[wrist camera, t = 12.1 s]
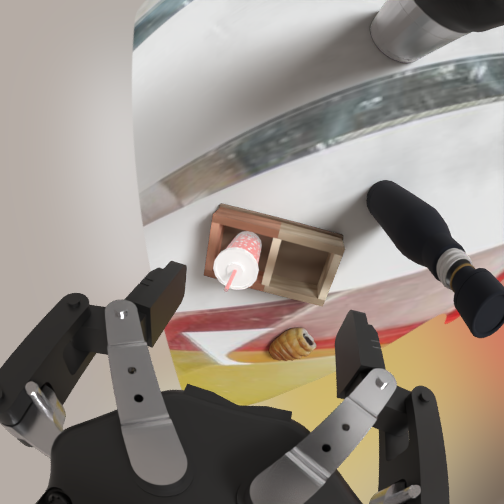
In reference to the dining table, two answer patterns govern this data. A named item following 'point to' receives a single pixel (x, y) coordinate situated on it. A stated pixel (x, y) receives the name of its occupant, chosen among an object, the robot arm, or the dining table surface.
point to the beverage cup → (239, 262)
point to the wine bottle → (438, 255)
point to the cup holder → (280, 253)
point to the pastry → (292, 345)
